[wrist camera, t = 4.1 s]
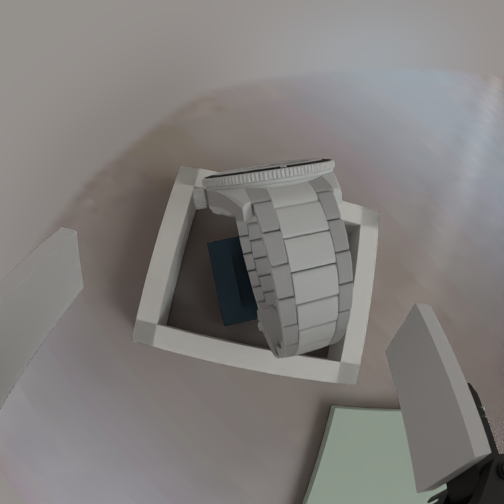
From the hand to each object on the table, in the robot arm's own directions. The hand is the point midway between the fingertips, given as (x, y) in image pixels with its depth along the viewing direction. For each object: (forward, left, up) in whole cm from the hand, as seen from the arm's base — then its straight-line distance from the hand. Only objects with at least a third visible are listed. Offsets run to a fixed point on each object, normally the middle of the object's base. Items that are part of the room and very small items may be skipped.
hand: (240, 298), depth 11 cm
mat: (-14, +12, -8) cm, 20 cm away
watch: (-1, -2, -8) cm, 8 cm away
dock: (-1, -2, -8) cm, 8 cm away
